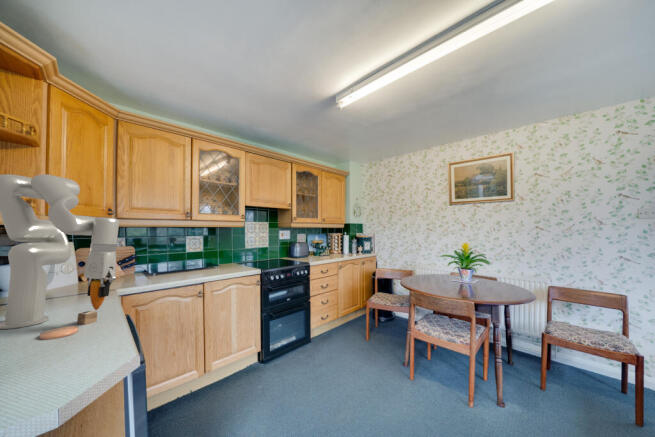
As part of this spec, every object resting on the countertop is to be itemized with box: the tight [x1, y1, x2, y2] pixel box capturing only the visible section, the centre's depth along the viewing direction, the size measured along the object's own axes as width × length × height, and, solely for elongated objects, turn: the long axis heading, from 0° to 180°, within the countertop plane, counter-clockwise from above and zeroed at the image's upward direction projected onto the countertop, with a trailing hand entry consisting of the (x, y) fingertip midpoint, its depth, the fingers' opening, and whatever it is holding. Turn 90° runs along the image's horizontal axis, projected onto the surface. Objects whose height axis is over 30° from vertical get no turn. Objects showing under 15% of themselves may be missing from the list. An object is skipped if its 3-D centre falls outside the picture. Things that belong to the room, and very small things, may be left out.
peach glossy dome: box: [39, 325, 79, 341], centre depth 85 cm, size 9×9×1 cm
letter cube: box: [76, 310, 98, 326], centre depth 96 cm, size 4×4×4 cm
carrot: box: [89, 279, 106, 311], centre depth 94 cm, size 5×5×15 cm
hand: (98, 295), depth 94 cm, fingers closed on carrot, 5 cm apart
